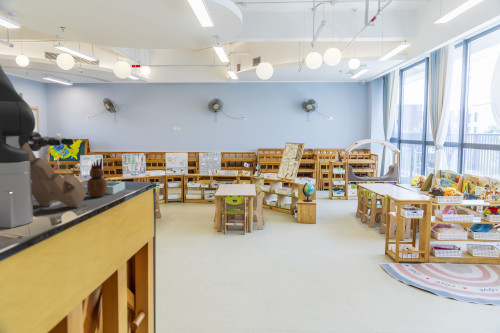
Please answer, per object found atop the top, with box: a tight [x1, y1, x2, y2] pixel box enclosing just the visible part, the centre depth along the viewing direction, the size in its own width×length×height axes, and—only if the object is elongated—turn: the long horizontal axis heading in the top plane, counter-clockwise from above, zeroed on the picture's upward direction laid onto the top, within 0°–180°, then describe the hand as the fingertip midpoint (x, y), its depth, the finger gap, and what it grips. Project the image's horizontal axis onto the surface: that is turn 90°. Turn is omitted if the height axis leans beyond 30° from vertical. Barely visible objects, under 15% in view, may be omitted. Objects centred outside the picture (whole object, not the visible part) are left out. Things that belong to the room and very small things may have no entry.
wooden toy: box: [20, 143, 87, 209], centre depth 100 cm, size 16×7×25 cm
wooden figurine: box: [86, 157, 108, 198], centre depth 122 cm, size 7×6×15 cm
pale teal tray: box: [83, 181, 126, 195], centre depth 134 cm, size 12×12×3 cm
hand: (66, 142), depth 120 cm, fingers open, 8 cm apart
